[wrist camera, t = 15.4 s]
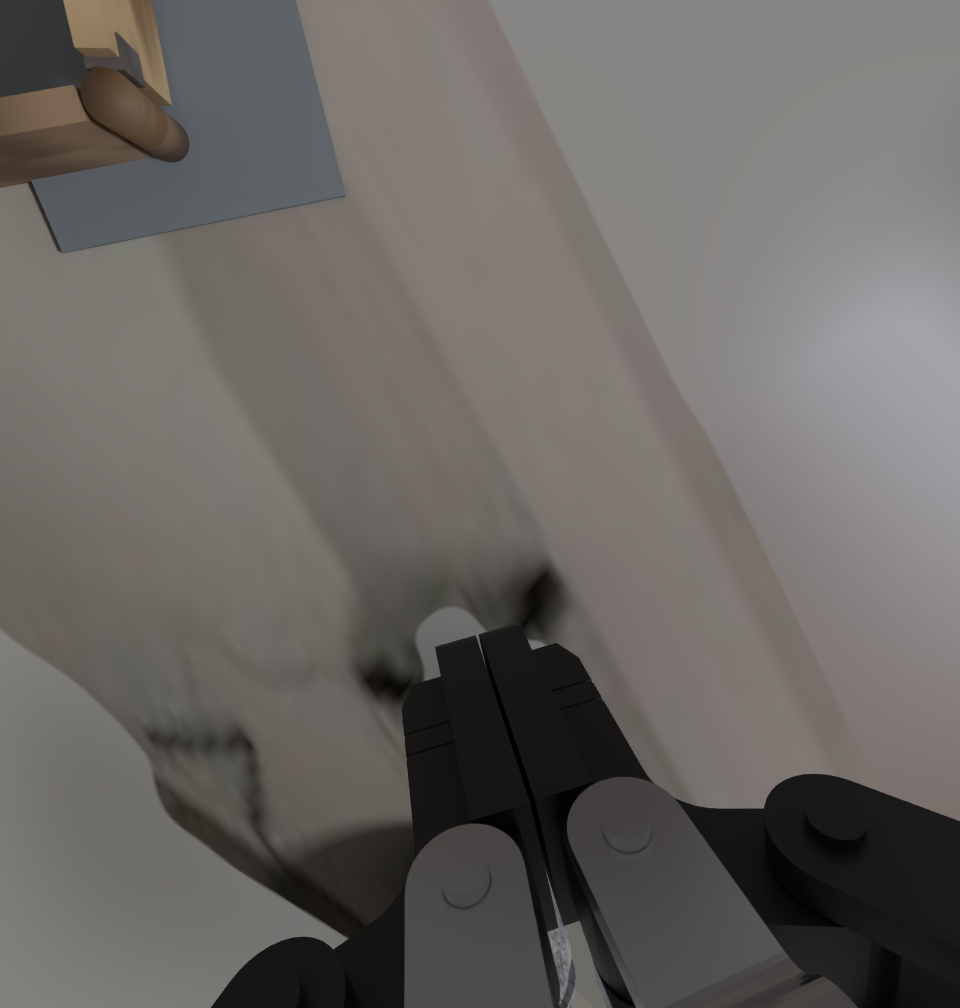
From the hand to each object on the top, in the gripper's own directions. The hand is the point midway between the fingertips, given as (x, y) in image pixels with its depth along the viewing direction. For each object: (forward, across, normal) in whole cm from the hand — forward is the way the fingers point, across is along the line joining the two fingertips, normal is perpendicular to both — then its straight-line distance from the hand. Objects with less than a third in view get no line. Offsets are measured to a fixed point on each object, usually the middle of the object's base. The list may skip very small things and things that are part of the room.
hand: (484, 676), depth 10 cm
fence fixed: (+29, +12, -15) cm, 35 cm away
